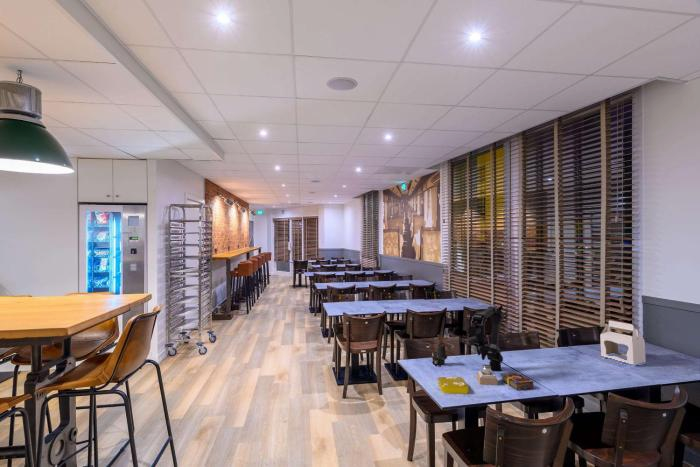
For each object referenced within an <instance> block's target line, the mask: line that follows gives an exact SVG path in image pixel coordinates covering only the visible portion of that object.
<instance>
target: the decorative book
mask: <svg viewBox="0 0 700 467" xmlns="http://www.w3.org/2000/svg"><path fill="white" fill-rule="evenodd" d="M500 376H501V379H500V381H501V382H502V383H504V384H506V385H507V386H508V387H511V388H513V389H514V390H516V391H519V392H520V391H523V390H531V389H534V381H532V380H531V379H530V378H529V377H525V376H523V375H522V374H520V373H517V372H512V373H511V372H510V373H500Z"/></svg>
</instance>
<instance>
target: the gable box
mask: <svg viewBox="0 0 700 467" xmlns="http://www.w3.org/2000/svg"><path fill="white" fill-rule="evenodd" d="M604 326H605V327H604V328H603V329H602V330H601V332H600V334H599V335H600V337H599V338H600V340H599V341H600V355H601V356H604V357H608V358H612V359H615V360H618V361H622V362H626V363H629V364H633V365H634V364H638V363H642V362H646V344H645V342H646V341H645V339H644V337H643V336H642V335H641V333H640V332H639V330H638V329H637V328H635V327H636V326H635V325H634V324H633V323H628V322H627V323H626V322H622V321H615V320H608V323H605V325H604ZM612 328H615V329H622V330H626V331H631V332H632V335H628V334H624V333H619V332H613V331H612ZM619 345H625V346H627V348H628V350H627V352H626V353H621V352H619ZM610 353H615V354H618V355H622V356H626V357H627V360H624V359H622V358H619V357H617V356H608V355H607V354H610ZM601 356H600V357H601Z"/></svg>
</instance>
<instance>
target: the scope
mask: <svg viewBox="0 0 700 467" xmlns="http://www.w3.org/2000/svg"><path fill="white" fill-rule="evenodd" d="M431 354H432V355H431V364H432V363H433V364H432V365H435V366H434V367H437V365H440V366H441V365H444V364H446V362H445V361H446V360H447V359H448V356H447V355H446V344H444V343H439V344H437V355H436V356H435V355H434V352H432V353H431ZM444 366H445V365H444Z"/></svg>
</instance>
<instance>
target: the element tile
mask: <svg viewBox="0 0 700 467" xmlns="http://www.w3.org/2000/svg"><path fill="white" fill-rule="evenodd" d="M437 385H438V387H439V388H440V392H441V393H443V394H448V395H449V394H458V395H460V394H461V395H467V394H469V385H468V383H467V382H466V381H465V379H464V378H463V377H458V376H453V377H452V376H451V377H450V376H439V377H437Z"/></svg>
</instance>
